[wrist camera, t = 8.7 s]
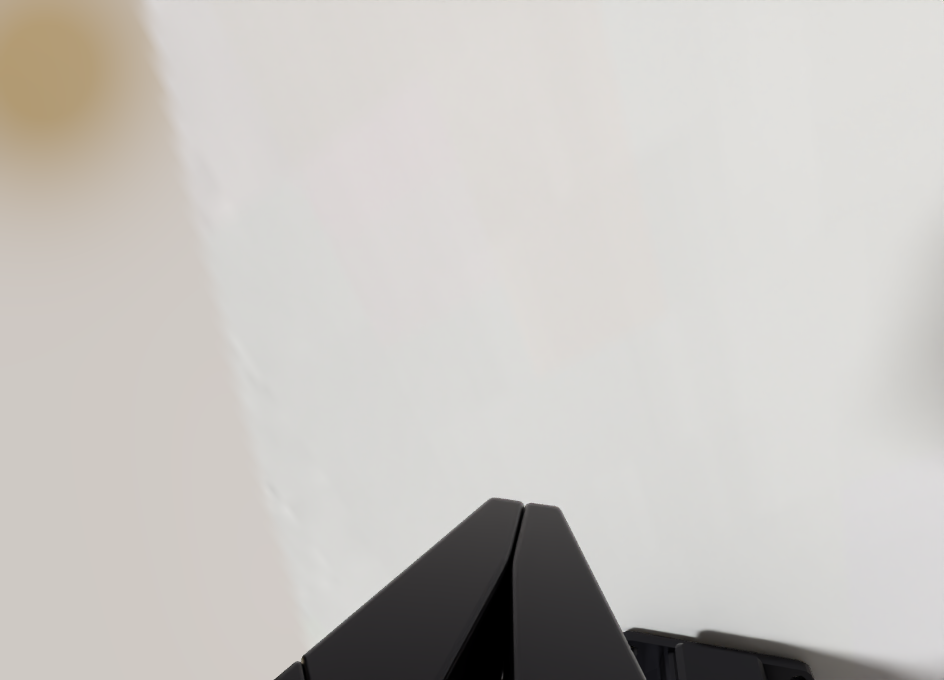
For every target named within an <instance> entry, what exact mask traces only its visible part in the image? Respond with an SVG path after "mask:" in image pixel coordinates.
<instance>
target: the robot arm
mask: <svg viewBox="0 0 944 680" xmlns="http://www.w3.org/2000/svg"><path fill="white" fill-rule="evenodd" d="M630 646H634V648H630ZM793 676H799V677H793ZM274 680H814V677H813V674H812V671H811V669H810V667H809V666H808V665H807V664H806V663H804V662H801V661H798V660H793V659H787V658H781V657H775V656H770V655H764V654H758V653H753V652H747V651H741V650H735V649H730V648H724V647H718V646H712V645H707V644H701V643H695V642H689V641H684V640H678V639H672V638H666V637H661V636H655V635H649V634H644V633H638V632H630V631H627V632H622V630H621V628H620V626H619V624H618V622H617V620H616V618H615V616H614V614H613V612H612V610H611V608H610V606H609V604H608V602H607V600H606V598H605V596H604V594H603V592H602V591H601V589H600V587H599V585H598V583H597V581H596V579H595V577H594V575H593V573H592V571H591V569H590V567H589V565H588V563H587V561H586V559H585V557H584V555H583V553H582V551H581V549H580V547H579V545H578V543H577V541H576V539H575V537H574V535H573V533H572V531H571V529H570V527H569V525H568V523H567V521H566V519H565V517H564V515H563V513H562V511H561V510H560V509H559V508H558V507H556V506H550V505H543V504H536V503H529V504H527V505H526V506H525V508H524V505H523V503H522V502H520V501H515V500H508V499H501V498H491V499H489V500H487V501H486V502H485V503H484V504H483V505H482V506H480V507H479V508H478V509H477V510H476V511H474V512H473V513H472V514H471V515H470V516H468V517H467V518H466V519H465V520H464V521H463V522H461V523H460V524H459V525H458V526H457V527H455V528H454V529H453V530H452V531H451V532H449V533H448V534H447V535H446V536H445V537H444V538H442V539H441V540H440V541H439V542H438V543H436V544H435V545H434V546H433V547H432V548H430V549H429V550H428V551H427V552H426V553H425V554H423V555H422V556H421V557H420V558H419V559H417V560H416V561H415V562H414V563H413V564H411V565H410V566H409V567H408V568H407V569H406V570H404V571H403V572H402V573H401V574H400V575H398V576H397V577H396V578H395V579H394V580H392V581H391V582H390V583H389V584H388V585H387V586H385V587H384V588H383V589H382V590H381V591H379V592H378V593H377V594H376V595H375V596H373V597H372V598H371V599H370V600H369V601H368V602H366V603H365V604H364V605H363V606H362V607H360V608H359V609H358V610H357V611H356V612H354V613H353V614H352V615H351V616H350V617H348V618H347V619H346V620H345V621H344V622H343V623H341V624H340V625H339V626H338V627H337V628H335V629H334V630H333V631H332V632H331V633H329V634H328V635H327V636H326V637H325V638H324V639H322V640H321V641H320V642H319V643H318V644H316V645H315V646H314V647H313V648H312V649H310V650H309V651H308V652H307V653H306V654H305V655H303V657H302V659H301V662H298V661H297V662H295V663H293V664H292V665H291V666H290V667H289V668H287V669H286V670H285V671H284V672H283V673H282V674H280V675H279V676H278V677H277V678H276V679H274Z"/></svg>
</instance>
